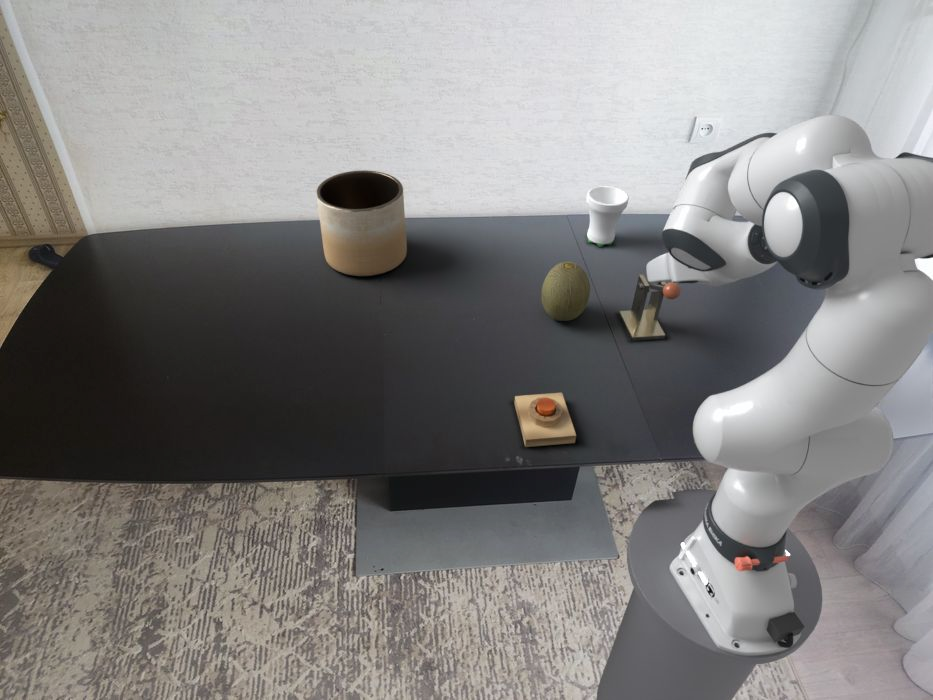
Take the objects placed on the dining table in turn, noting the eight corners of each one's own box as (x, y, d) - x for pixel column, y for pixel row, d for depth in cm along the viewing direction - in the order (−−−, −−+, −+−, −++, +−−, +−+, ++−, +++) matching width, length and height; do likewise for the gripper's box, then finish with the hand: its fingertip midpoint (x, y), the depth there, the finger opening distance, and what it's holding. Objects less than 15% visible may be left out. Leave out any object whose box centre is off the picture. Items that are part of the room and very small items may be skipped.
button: (556, 416, 130) (557, 410, 129) (538, 417, 130) (539, 411, 129) (552, 403, 133) (553, 397, 132) (534, 404, 133) (535, 398, 131)
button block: (574, 442, 130) (577, 429, 127) (525, 447, 129) (526, 433, 126) (560, 399, 139) (563, 386, 136) (514, 403, 138) (515, 389, 135)
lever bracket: (664, 338, 155) (677, 291, 146) (631, 341, 154) (643, 293, 145) (650, 312, 162) (662, 266, 153) (618, 314, 161) (628, 268, 152)
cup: (573, 234, 189) (579, 189, 180) (606, 227, 193) (615, 182, 183) (592, 254, 182) (600, 208, 172) (627, 246, 185) (636, 201, 175)
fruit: (553, 296, 166) (559, 246, 157) (593, 312, 162) (602, 261, 152) (530, 319, 159) (535, 267, 149) (571, 336, 155) (580, 284, 145)
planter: (324, 283, 169) (314, 213, 156) (325, 238, 185) (316, 171, 172) (410, 276, 172) (407, 208, 159) (403, 233, 188) (400, 167, 175)
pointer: (683, 299, 138) (683, 282, 137) (666, 300, 138) (667, 283, 137) (656, 292, 152) (656, 277, 151) (641, 293, 152) (641, 277, 151)
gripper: (770, 239, 119) (731, 254, 133) (662, 247, 117) (634, 262, 130) (774, 274, 119) (735, 285, 132) (666, 282, 116) (637, 293, 130)
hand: (684, 274), depth 131 cm, fingers closed
